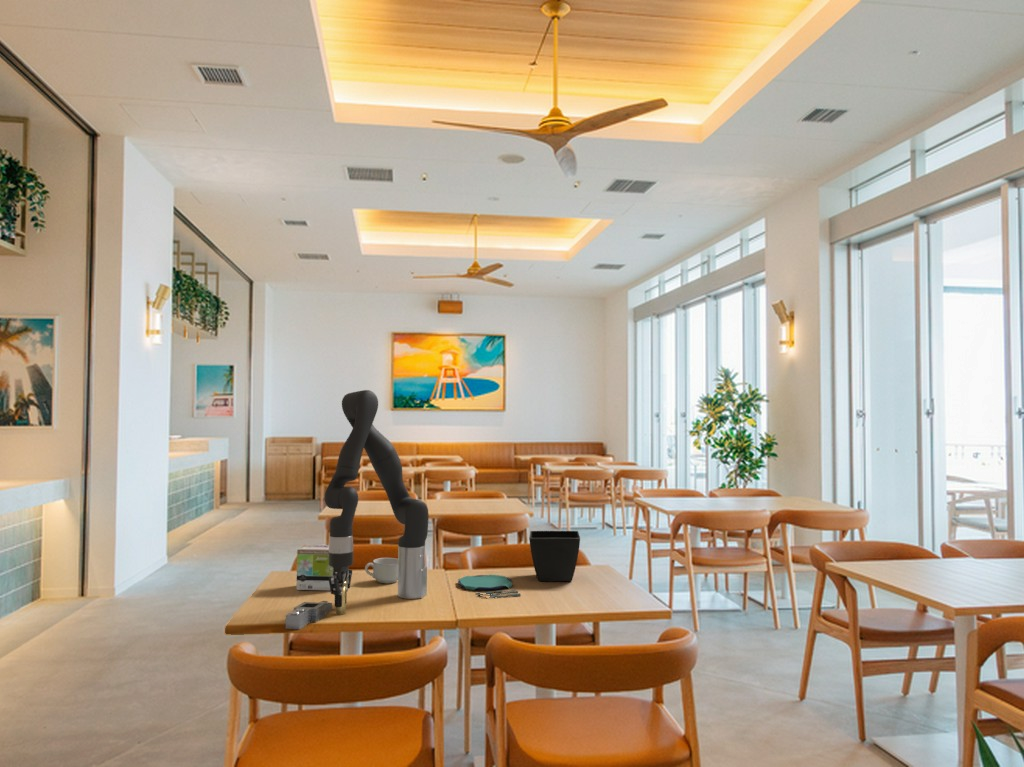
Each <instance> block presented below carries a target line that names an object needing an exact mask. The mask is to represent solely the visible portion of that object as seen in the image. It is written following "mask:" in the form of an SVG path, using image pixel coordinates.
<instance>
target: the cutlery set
mask: <svg viewBox="0 0 1024 767" xmlns="http://www.w3.org/2000/svg"><path fill="white" fill-rule="evenodd" d="M457 583H458V585H459V586H461V587H462V588H465V589H466V590H468V591H475V590H482V591H483V590H488V591H483V592H475V595H477V597H479V596H478V595H482V596H484V595H483V594H480V593H486V594H492V595H488V596H490V597H489V598H494V597H497V598H501V597H503V598H507V597H506V596H514V597H521V593H519V591H518V590H516V589H514V590H511V591H510V590H500V589H502V588H506V587H507V588H509V589H511V588H512V586H513V581H512V578H509V577H507V576H505V575H499V574H480V575H479V574H478V575H466V576H465V575H464V576H463V577H461V578H458V581H457ZM497 589H499V590H497ZM489 590H495V591H489ZM494 592H495V593H494ZM498 592H501V593H498ZM500 594H501V595H500ZM505 594H506V595H505ZM494 599H495V598H494Z"/></svg>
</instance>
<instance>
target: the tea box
mask: <svg viewBox="0 0 1024 767" xmlns="http://www.w3.org/2000/svg"><path fill="white" fill-rule="evenodd" d="M333 569H334V568H333V567H331V566H329V544H328V545H327V544H304V545H302V546H301V547H300V548H298V549H297V551H296V591H330V592H331V590H330V585H329V577H332V575H333ZM333 589H334V588H333Z"/></svg>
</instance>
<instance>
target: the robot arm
mask: <svg viewBox="0 0 1024 767" xmlns="http://www.w3.org/2000/svg"><path fill="white" fill-rule="evenodd" d="M341 407H342V408H341V409H342V411H343V414H344V416H345V418H346V419H347V421H348V423H349V425H350V427H352V428H351V432H350V433H349V435H348V437H347V438H346V441H345V442H344V444H343V445H342V448H341V450H340V452H339V455H338V458H337V459H338V460H337V463H336V468H335V472H334V474H333V475H332V478H331V480H330V481H329V483H328V486H327V487H326V490H325V491H324V498H323V499H324V503H325V506H326V507H327V508H328V509H329V508H330V509H334V510H342V511H341V513H340V515H338V516H334V517H332V518H331V519H330V520H329V541H328V545H329V566H331V567H333V568H334V569H333V575H332V577H329V585H330V590H331V591H330V594H331V595H333V596H334V607H335V608H336V607H341V606H342V589H343V587H344V582H345V581H347V585H346V593H345V605H346V604H347V597H348V596H347V592H348V591H349V589H350V588H351V582H352V576H353V570H352V569H350V567H351V566H353V564H354V539H353V538H354V537H353V522H354V519H355V518H354V517H355V515H356V514H355V513H356V511H357V507H358V504H359V494H358V491H357V489H355V488H354V487H352V486H345V485H346V484H347V483H349V482H353V481H355V480H356V479H357V478H358V474H359V470H360V464H361V460H362V455H363V453H364V452H363V451H365V453H366V455H367V457H368V459H369V462H370V464H371V466H372V467H373V469H374V471H375V474H376V476H377V477H378V480H379V482H380V484H381V486H382V487H383V489H384V492H385V493H386V496H387V499H388V501H389V503H390V507H391V510H392V512H393V515H394V516H395V519H396V520H397V522H399V523H400V524H401V525H404V533H403V534H402V535H401V536H399V538H398V539H397V540H398V541H397V542H398V546H397V549H398V552H397V557H398V558H397V559H398V580H397V597H398V598H401V599H406V600H407V599H408V600H415V599H423V598H424V597H425V596H427V593H428V592H427V591H428V581H427V580H428V567H427V566H426V540H427V538H428V532H429V509H428V506H427V504H426V502H424V501H423V500H420V499H418V498H417V499H416V498H413V497H412V496H411V495H410V494H409V491H408V489H407V488H406V486H405V483H404V479H403V476H404V475H403V465H402V461H401V459H400V456H399V454H398V452H397V451H396V450H397V449H396V448H395V446H394V445H393V443H392V442H391V441H390V440H389V439H387V437H385V435H383V434H382V433H381V432H380V431H379V430H378V429H377V428H376V427H375V425H374V424H373V423H374V421H375V419H376V415H377V412H378V408H379V399H378V396H377V394H376V393H375V392H374V391H372V390H369V389H363V390H359V391H353V392H349V393H347V394H344V396H343V397H342V400H341ZM338 583H341V585H339V584H338ZM333 588H334V589H333ZM339 588H340V589H339Z"/></svg>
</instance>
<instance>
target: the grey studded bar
mask: <svg viewBox="0 0 1024 767" xmlns="http://www.w3.org/2000/svg"><path fill="white" fill-rule="evenodd" d="M331 610H333V603H332V602H328V600H322V601H319V602H315V601H313V602H309V601H303V602H302V603H300V604H298V605H297V606H295V607H293V610H292V611H290V612H288V613H287V614H285V629H286V630H301V629H304V628H305V627H306V626H307V624H308V623H309V622H311V621H317V622H319V621H320V620H322V619H324V618H325V617H326V616H327V613H328V612H330V611H331ZM321 618H322V619H321ZM318 620H319V621H318ZM311 623H312V622H311ZM309 624H310V623H309ZM309 624H308V625H309Z"/></svg>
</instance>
